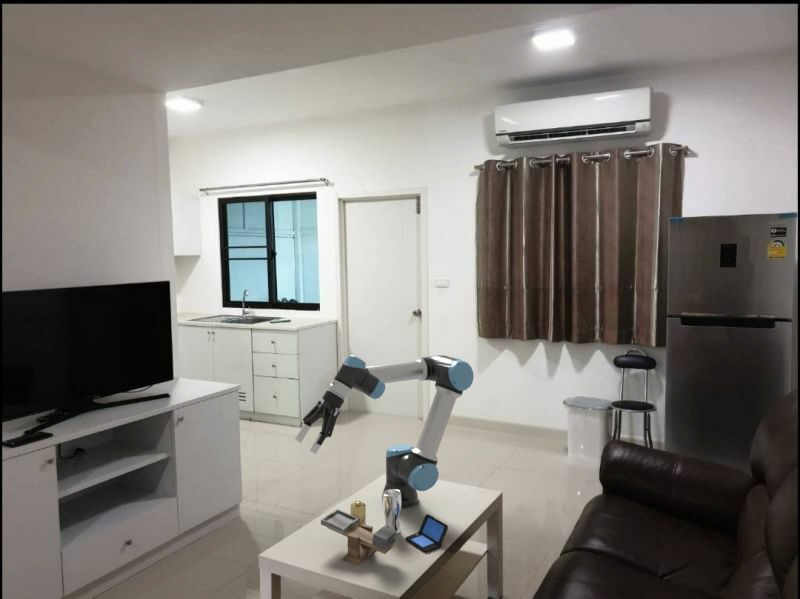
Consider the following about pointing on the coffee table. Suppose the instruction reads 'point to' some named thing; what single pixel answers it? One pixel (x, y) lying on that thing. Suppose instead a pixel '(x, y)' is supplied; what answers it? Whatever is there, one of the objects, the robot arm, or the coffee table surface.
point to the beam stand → (358, 547)
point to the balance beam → (360, 531)
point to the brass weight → (359, 512)
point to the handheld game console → (428, 535)
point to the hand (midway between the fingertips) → (304, 446)
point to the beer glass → (392, 508)
